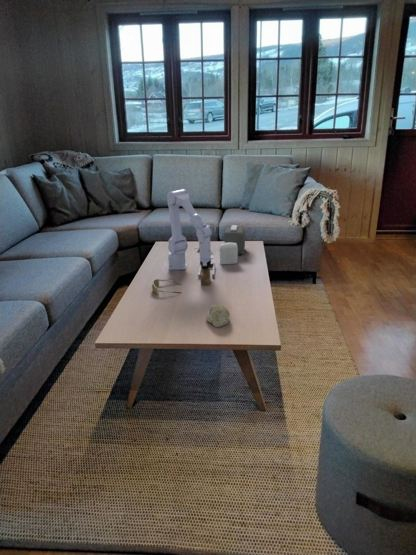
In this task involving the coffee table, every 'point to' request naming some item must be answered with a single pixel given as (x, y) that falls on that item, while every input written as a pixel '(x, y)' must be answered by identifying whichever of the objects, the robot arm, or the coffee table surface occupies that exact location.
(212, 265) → the channel
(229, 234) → the alarm clock
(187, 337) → the coffee table surface
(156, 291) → the sunglasses
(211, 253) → the eiffel tower figurine
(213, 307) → the decorative item
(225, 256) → the photo printer
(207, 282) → the walnut block
